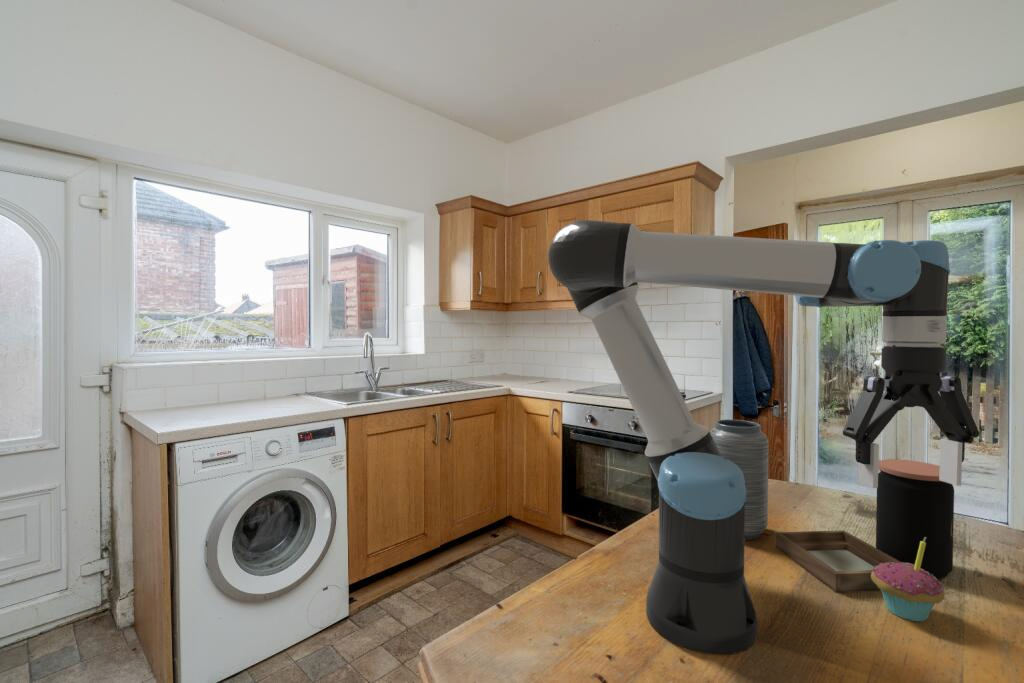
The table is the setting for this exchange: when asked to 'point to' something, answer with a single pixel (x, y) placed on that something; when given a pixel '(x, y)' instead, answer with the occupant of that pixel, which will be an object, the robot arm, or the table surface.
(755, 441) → the vase
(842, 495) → the table surface
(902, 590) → the cupcake
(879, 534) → the coffee jar
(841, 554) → the walled box
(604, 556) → the table surface
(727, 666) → the table surface
